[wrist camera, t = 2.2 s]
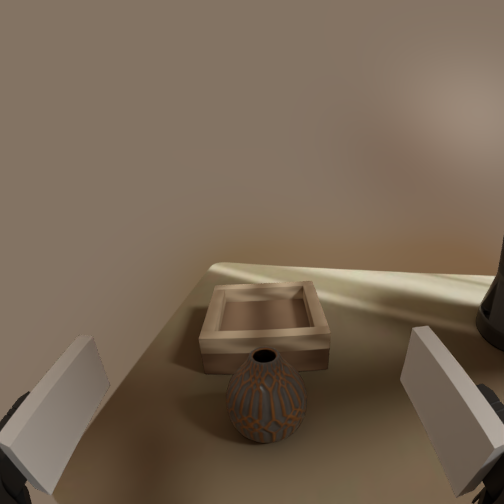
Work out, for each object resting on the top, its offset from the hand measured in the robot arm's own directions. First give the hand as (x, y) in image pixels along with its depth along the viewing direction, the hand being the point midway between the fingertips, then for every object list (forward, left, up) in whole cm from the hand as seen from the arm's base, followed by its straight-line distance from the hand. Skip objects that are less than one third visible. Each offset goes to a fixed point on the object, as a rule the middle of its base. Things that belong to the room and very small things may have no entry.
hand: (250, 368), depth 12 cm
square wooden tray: (-11, -23, -16) cm, 29 cm away
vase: (-5, -9, -16) cm, 19 cm away
